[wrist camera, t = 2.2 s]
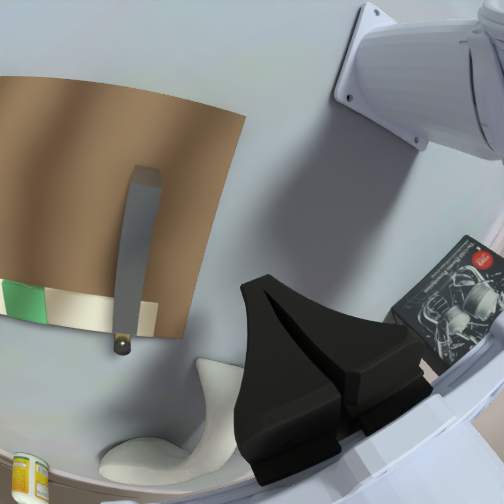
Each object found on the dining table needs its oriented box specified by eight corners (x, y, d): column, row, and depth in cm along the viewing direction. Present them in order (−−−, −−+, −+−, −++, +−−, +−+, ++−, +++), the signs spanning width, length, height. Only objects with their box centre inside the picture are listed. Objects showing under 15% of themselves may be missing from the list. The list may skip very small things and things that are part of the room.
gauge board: (237, 115, 15) (278, 121, 10) (179, 324, 20) (192, 386, 15) (-45, 79, 7) (-100, 83, 3) (-46, 286, 12) (-77, 336, 8)
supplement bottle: (50, 460, 24) (53, 521, 16) (45, 470, 25) (47, 524, 17) (14, 447, 21) (12, 509, 13) (12, 458, 22) (11, 513, 14)
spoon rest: (171, 468, 32) (183, 511, 26) (89, 456, 26) (93, 505, 20) (272, 368, 26) (304, 430, 20) (151, 339, 20) (163, 422, 14)
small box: (466, 230, 27) (545, 284, 17) (467, 267, 31) (532, 318, 21) (388, 307, 27) (466, 386, 17) (398, 336, 31) (460, 404, 21)
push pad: (159, 169, 13) (162, 188, 10) (131, 335, 17) (133, 378, 14) (135, 164, 13) (130, 182, 10) (112, 333, 16) (111, 376, 13)
